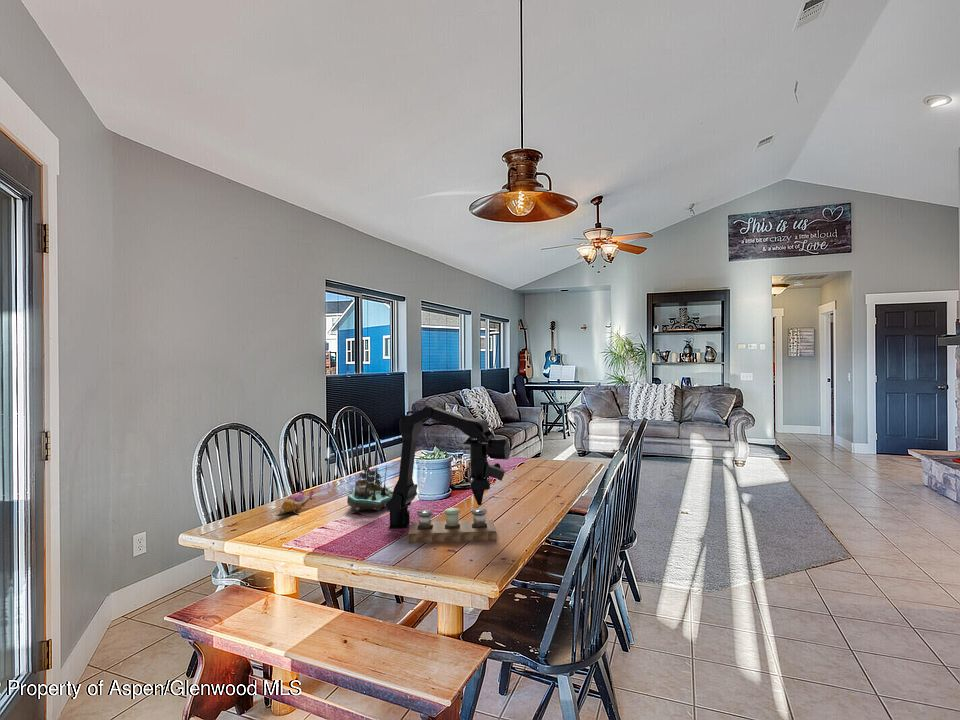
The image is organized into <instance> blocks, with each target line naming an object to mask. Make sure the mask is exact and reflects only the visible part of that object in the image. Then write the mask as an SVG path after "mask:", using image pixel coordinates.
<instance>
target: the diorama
mask: <svg viewBox="0 0 960 720" xmlns="http://www.w3.org/2000/svg"><path fill="white" fill-rule="evenodd" d="M370 465H371V463H369V464H364V467H361V471H362V472H360V473H358V476H359V478H358V480H356V481H355V485H354V486H355V488H354V489H353V488H351V491H349V493H348V495H347V499H346V500H347V505H348V506H349V507H351V508H352V509H354V510H356V511H358V512H359V511H360V512H362V511H371V510H372V511H378V512H379V511H380V510H381V509H383V508H384V507H385V508H386V504H387V503H388V502H389V500H390V499H391V498H392V494H393V491H394V490H392V489H390V488H389V487H386V478H387V472H385V473H384V475H385V476H384V481H382V480H381V479H382V475H381V474H380V473H379V472H378V471H379V468H375V470H371V469H370ZM387 467H388V464H386V466H385V471H388V470H387ZM383 482H384V483H383ZM382 483H383V485H382Z"/></svg>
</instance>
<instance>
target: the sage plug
mask: <svg viewBox="0 0 960 720" xmlns="http://www.w3.org/2000/svg"><path fill="white" fill-rule="evenodd" d="M460 513H461V511H460V508H457V507H448V508H445V509H444V514H445V517H446V518H445V521H446V525H448V526H456V525H458V521H459V514H460Z"/></svg>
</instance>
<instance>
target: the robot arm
mask: <svg viewBox="0 0 960 720" xmlns="http://www.w3.org/2000/svg"><path fill="white" fill-rule="evenodd" d="M430 419H432V420H434V421H437V422H440V423H442V424H445V425H448V426H451V427H453V428H456V429H458V430H459V431H461V432H462V433H463V434H464V435H466V436H468V437H467V439H466V441H464V442H463V445H467V446H468V445H469V458H470V459H469V463H470V465H469V468H470V469H469V470H470V471H469V478H468V479H470V481H469V484H470V485H469V487H470V488H469V489H470V490H471V492H472V494H473V496H474V498H475V499H474V500H475V501H476V504H477V505H478V506H482V503H483V499H484V494H485V490H487V491H489V490H490V489H491V483H490V480H489V479H490V477H491V478H494V479H497V480H498V481H503V479H504V476H505V473H506V471H505V469H504V468H502V467H501V464H500V463H498V462H495V463H494V464H490V463H489V460H488V458H490V459H491V460H507V461H508V460H509V459H510V457H511V447H510V443H509V442H508V441H509V440H508V438H506V437H505V438H504V437H503V438H496V436H495V435H494V434H493V432H492V430H491V429H490V427H489V424H488V422H487V420H484V419H482V418H475V417H465V416H462V415H460V414H456V413H454V412H451V411H448V410H445V409H442V408H440V407H437V406H436V405H427V406H425V407H424V408H422V409H420V410H418V411H416V412H414V413H409V414H406V415H405V414H404V415H403V416H402V417H401V418H400V419H399V432H400V435H401V437H402V443H401V444H402V445H401V453H400V463H399V473H398V480H397V481H396V484H395V486H394V487H393V490H392V491H393V494H392V498H391V499H390V500H389V502H388V503H387V504H386V507H385V508H386V510H387V511H388V512H389V525H388V528H389V529H401V528H403V529H404V528H405V529H406V528H408V527H409V525H411V524H410V523H411V511H410V510H409V506H411V504H412V501H414V500H415V499H416V496H418V493H417V490H418V484H417V483H416V484H415V483H414V480H413V475H414V467H415V466H414V464H415V459H416V458H415V457H416V456H415V455H416V445H417V440H418V438H419V435H420V433H421V432H422V428H423V425H424V423H426V422H428V421H429V420H430Z"/></svg>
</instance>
